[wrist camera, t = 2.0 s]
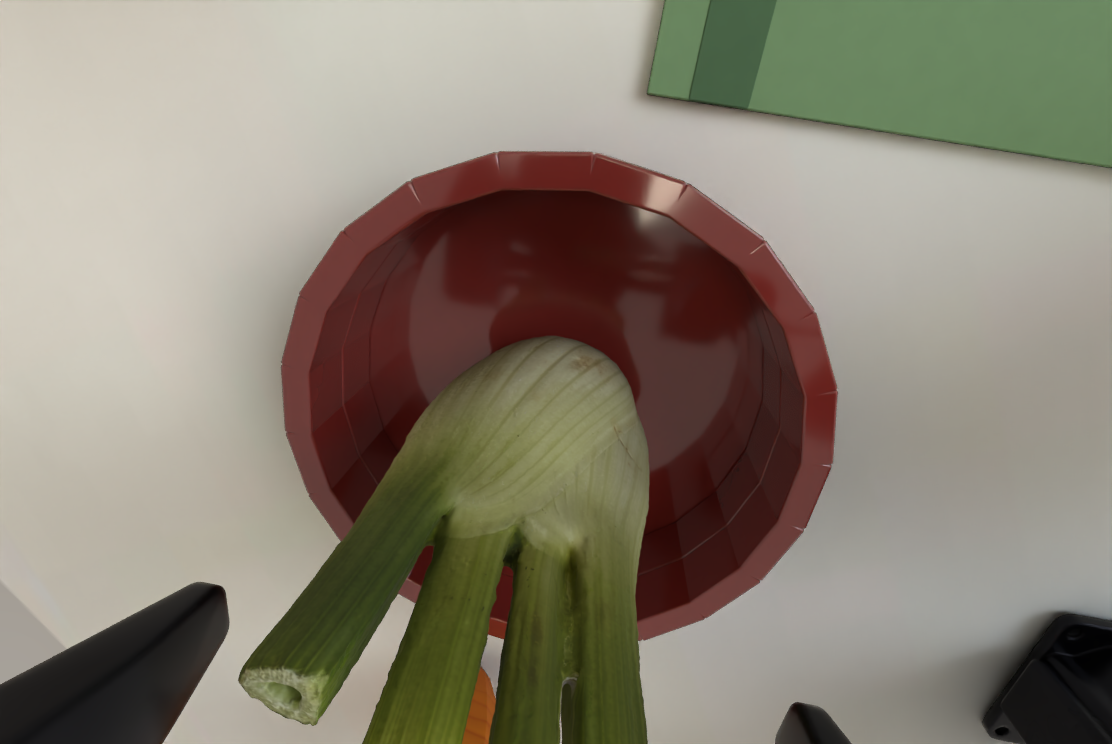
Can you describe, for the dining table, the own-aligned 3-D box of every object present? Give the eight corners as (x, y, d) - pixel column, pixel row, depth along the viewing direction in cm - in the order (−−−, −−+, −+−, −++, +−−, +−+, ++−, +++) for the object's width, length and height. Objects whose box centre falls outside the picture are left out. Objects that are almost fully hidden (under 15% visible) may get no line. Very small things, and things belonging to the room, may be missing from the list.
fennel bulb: (448, 366, 18) (165, 725, 7) (560, 276, 16) (440, 546, 5) (557, 485, 19) (477, 948, 8) (671, 413, 17) (770, 863, 6)
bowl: (856, 195, 15) (943, 209, 11) (715, 587, 20) (739, 688, 17) (351, 112, 15) (261, 97, 11) (353, 517, 21) (294, 599, 17)
